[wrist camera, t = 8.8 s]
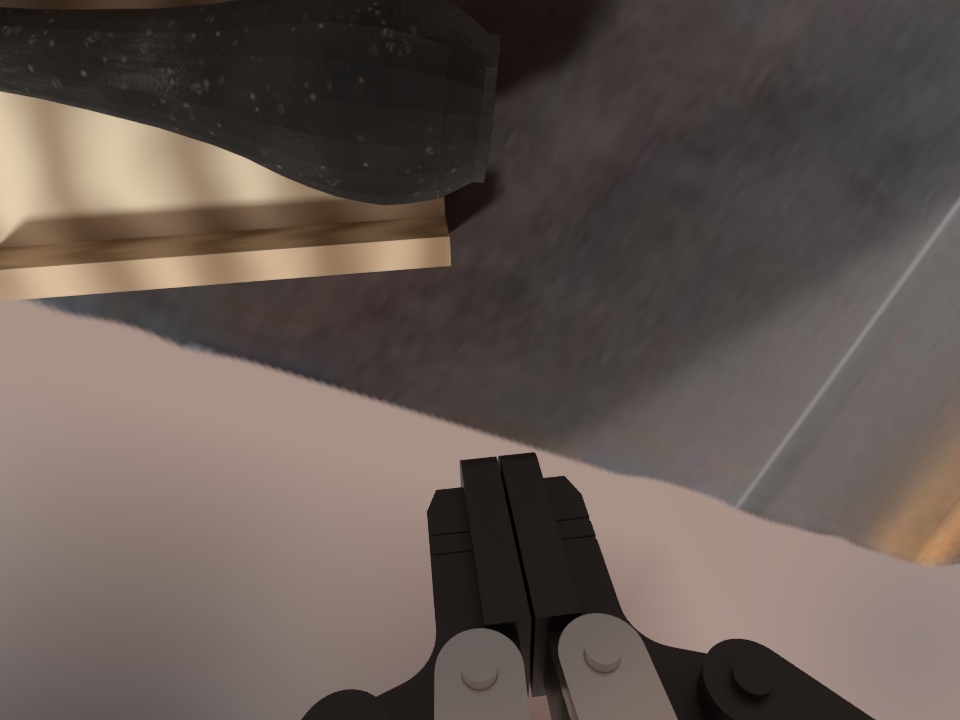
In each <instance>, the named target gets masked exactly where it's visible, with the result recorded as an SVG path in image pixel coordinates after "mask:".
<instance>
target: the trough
mask: <svg viewBox="0 0 960 720" xmlns="http://www.w3.org/2000/svg"><path fill="white" fill-rule="evenodd" d="M227 1H233V0H0V7H8V8H24V9H88V10H89V9H155V8H169V7H181V6H192V5H204V4H215V3H221V2H227ZM441 266H451V254H450V236H449V231H448V227H447V222H446V217H445V204H444V196H443V197H441V198H439V199H434V200H428V201H422V202H416V203H410V204H399V205H377V204H371V203H364V202H358V201H354V200H349V199H345V198H340V197H336V196H333V195H330V194H327V193H324V192H321V191H319V190H316V189H313V188H310V187H307V186H305V185H303V184H300V183H298V182H295V181H293V180H291V179H288V178H286V177H283V176H281V175H279V174H277V173H275V172H273V171H271V170H269V169H267V168H265V167H263V166H261V165H259V164H257V163H255V162H253V161H251V160H249V159H247V158H244V157H242V156H239V155H237V154H234V153H232V152H229V151H227V150H224V149H221V148H219V147H216V146H214V145H211V144H207V143H204V142H201V141H198V140H195V139H192V138H189V137H186V136H182V135H179V134H176V133H173V132H170V131H167V130H164V129H161V128H157V127H153V126H149V125H145V124H141V123H137V122H133V121H129V120H125V119H122V118H118V117H114V116H110V115H106V114H102V113H98V112H94V111H90V110H86V109H81V108H77V107H73V106H68V105H64V104H60V103H56V102H51V101H47V100H43V99H38V98H33V97H28V96H22V95H17V94H11V93H6V92H0V301H8V300H21V299H34V298H47V297H59V296H72V295H85V294H97V293H110V292H123V291H136V290H148V289H161V288H174V287H186V286H199V285H212V284H225V283H237V282H250V281H263V280H275V279H288V278H301V277H314V276H326V275H339V274H352V273H364V272H377V271H390V270H403V269H415V268H428V267H441Z"/></svg>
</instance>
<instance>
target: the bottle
mask: <svg viewBox="0 0 960 720" xmlns="http://www.w3.org/2000/svg"><path fill="white" fill-rule="evenodd" d="M500 43H501V35H495V34H489V33H488V32H487V31H486V30H485V29H484V28H483V27H482V26H480V25H479V24H478V23H477V22H476V21H475V20H474V19H473V18H472V17H470V16H469V15H468V14H467V13H466V12H465V11H464V10H463V9H462V8H461V7H459V6H458V5H457V4H455V3H453V2H451V1H449V0H233V1H227V2H221V3H215V4H204V5H192V6H181V7H169V8H155V9H89V10H88V9H24V8H8V7H0V92H6V93H11V94H17V95H22V96H28V97H33V98H38V99H43V100H47V101H51V102H56V103H60V104H64V105H68V106H73V107H77V108H81V109H86V110H90V111H94V112H98V113H102V114H106V115H110V116H114V117H118V118H122V119H125V120H129V121H133V122H137V123H141V124H145V125H149V126H153V127H157V128H161V129H164V130H167V131H170V132H173V133H176V134H179V135H182V136H186V137H189V138H192V139H195V140H198V141H201V142H204V143H207V144H211V145H214V146H216V147H219V148H221V149H224V150H227V151H229V152H232V153H234V154H237V155H239V156H242V157H244V158H247V159H249V160H251V161H253V162H255V163H257V164H259V165H261V166H263V167H265V168H267V169H269V170H271V171H273V172H275V173H277V174H279V175H281V176H283V177H286V178H288V179H291V180H293V181H295V182H298V183H300V184H303V185H305V186H307V187H310V188H313V189H316V190H319V191H321V192H324V193H327V194H330V195H333V196H336V197H340V198H345V199H349V200H354V201H358V202H364V203H371V204H377V205H399V204H410V203H416V202H422V201H428V200H434V199H439V198H441V197H443V196H445V195H448V194H450V193H452V192H454V191H456V190H458V189H460V188H462V187H464V186H466V185H468V184H470V183H472V182H478V183H484V180H485V174H486V166H487V159H488V151H489V143H490V135H491V127H492V118H493V110H494V101H495V92H496V83H497V74H498V64H499V54H500Z"/></svg>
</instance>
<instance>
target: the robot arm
mask: <svg viewBox="0 0 960 720" xmlns="http://www.w3.org/2000/svg"><path fill="white" fill-rule="evenodd" d="M460 477H461V487H460V488H452V489H442V490H436V492H435V494H434V497H433V499H432V501H431V504H430V506H429V509H428V511H427V518H428V531H429V542H430V543H429V544H430V556H431V567H432V568H431V569H432V582H433V595H434V608H435V620H436V641H435V647H434V649H433V652H432V655H431V656H430V658H429V660H428V662H427V663H426V664H425V666H424V667H423V668H422V669H421V671H419V673H417V675H415V676H414V677H412V678H411V679H410V680H408V681H406V682H405V683H403V684H401V685H399V686H397V687H395V688H393V689H391V690H389V691H387V692H385V693H383V694H381V695H379V696H377V697H375V696H374V695H372V694H370V693H368V692H364V691H361V690H354V689H351V690H342V691H338V692H335V693H332V694H330V695H328V696H326V697H324V698H323V699H321V700H320V701H318V702H317V703H316V704H315V705H314V706H312V708H311V709H310V710H309V711H308V712H307V713H306V715H305V716H304V717H303V718H302V720H530V713H529V704H528V693H529V684H530V689H531V694H532V697H536V696H544V695H546V696H547V700H548V705H549V710H550V715H551V719H552V720H875V719H873V718H872V717H870V716H869V715H867V714H866V713H864V712H863V711H861V710H860V709H858V708H857V707H855V706H854V705H852V704H851V703H849V702H848V701H846V700H845V699H843V698H842V697H840V696H839V695H837V694H836V693H835V692H833V691H831V690H830V689H829V688H827V687H826V686H824V685H823V684H821V683H820V682H818V681H817V680H815V679H814V678H812V677H811V676H809V675H808V674H806V673H805V672H803V671H802V670H800V669H799V668H797V667H796V666H794V665H793V664H791V663H790V662H788V661H787V660H785V659H784V658H782V657H780V656H779V655H778V654H776V653H775V652H773V651H772V650H770V649H769V648H767V647H765V646H763V645H761V644H759V643H756V642H753V641H750V640H745V639H729V640H725V641H722V642H720V643H718V644H716V645H715V646H713V647H712V648H711V649H710V651H709V652H708V653H707V654H706V653H701V652H695V651H690V650H685V649H679V648H674V647H669V646H666V645H662V644H659V643H657V642H654V641H652V640H650V639H649V638H647V637H645V636H644V635H642V634H641V633H640V632H638V631H637V630H636V629H635V628H634V627H633V626H632V625H631V624H630V622H629V621H628V620H627V618H626V617H625V615H624V614H623V612H622V610H621V607H620V605H619V602H618V599H617V596H616V593H615V591H614V587H613V584H612V581H611V579H610V576H609V573H608V570H607V567H606V564H605V561H604V558H603V555H602V553H601V550H600V547H599V544H598V541H597V540H596V537H595V532H594V530H593V526H592V524H591V521H590V520H589V515H588V512H587V509H586V506H585V503H584V500H583V497H582V495H581V493H580V492H579V491H578V490H577V489H576V488H575V487H574V486H573V485H572V484H571V483H570V482H569V480H568V479H567V478H566V477H565V476H559V477H549V478H543V476H542V472H541V469H540V466H539V462H538V459H537V456H536V454H535V453H534V452H532V453H524V454H514V455H504V456H498V461H497V458H496V457H488V458H478V459H468V460H460Z"/></svg>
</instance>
